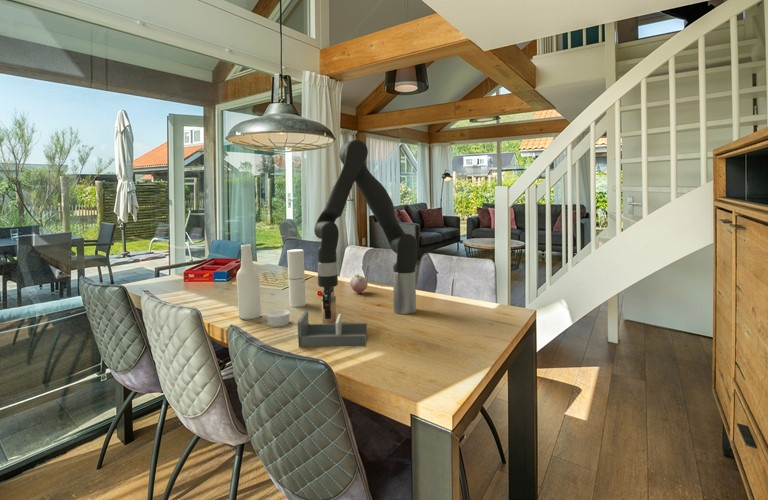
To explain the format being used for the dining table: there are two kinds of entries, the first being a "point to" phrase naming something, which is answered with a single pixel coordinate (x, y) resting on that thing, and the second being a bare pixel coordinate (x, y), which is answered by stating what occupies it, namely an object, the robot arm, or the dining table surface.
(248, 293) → the alcohol
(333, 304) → the jar
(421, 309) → the dining table surface
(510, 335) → the dining table surface
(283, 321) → the ramekin
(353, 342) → the lane
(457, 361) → the dining table surface
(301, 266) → the cylindrical container
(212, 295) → the dining table surface
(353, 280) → the decorative fruit
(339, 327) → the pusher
